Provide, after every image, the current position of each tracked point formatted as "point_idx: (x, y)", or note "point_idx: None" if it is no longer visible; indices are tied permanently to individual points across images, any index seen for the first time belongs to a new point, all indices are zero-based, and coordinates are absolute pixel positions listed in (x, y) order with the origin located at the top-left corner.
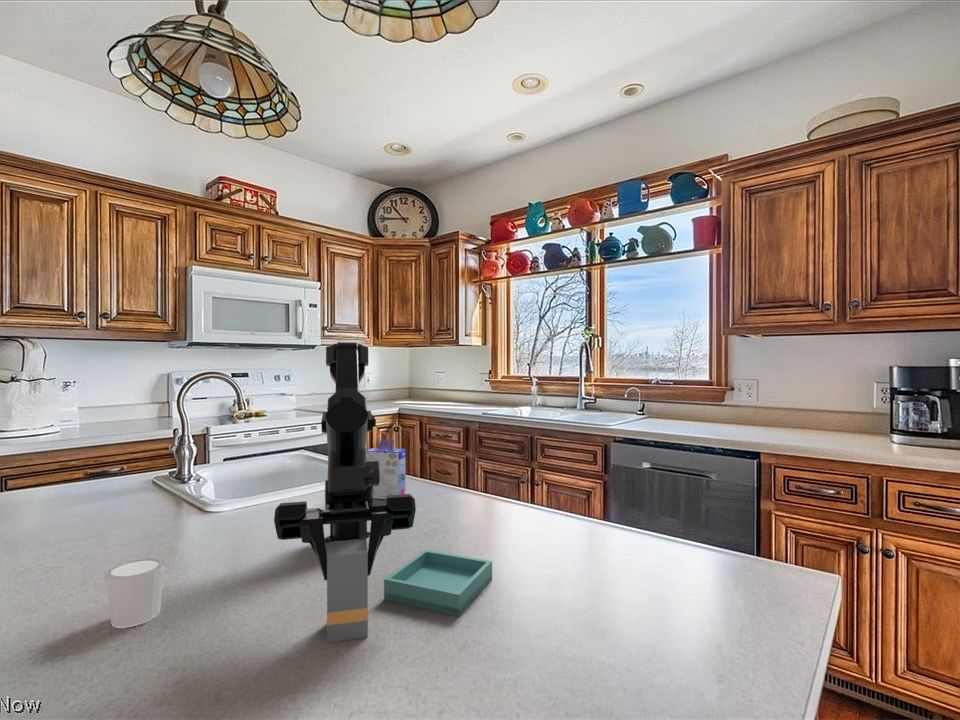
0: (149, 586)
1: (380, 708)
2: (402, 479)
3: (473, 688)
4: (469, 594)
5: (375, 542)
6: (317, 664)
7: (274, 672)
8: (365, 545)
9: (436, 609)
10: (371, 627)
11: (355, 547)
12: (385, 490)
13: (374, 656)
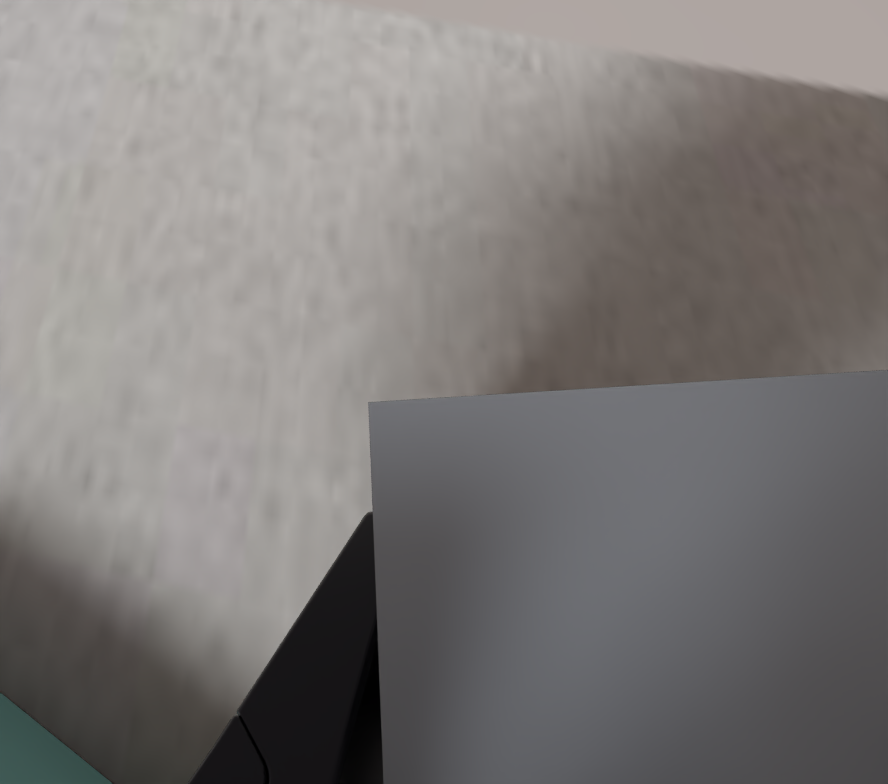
0: None
1: (365, 20)
2: None
3: (17, 55)
4: None
5: (239, 757)
6: (635, 314)
7: (810, 293)
8: (401, 682)
9: (2, 702)
10: None
11: (550, 625)
12: None
13: (384, 324)
